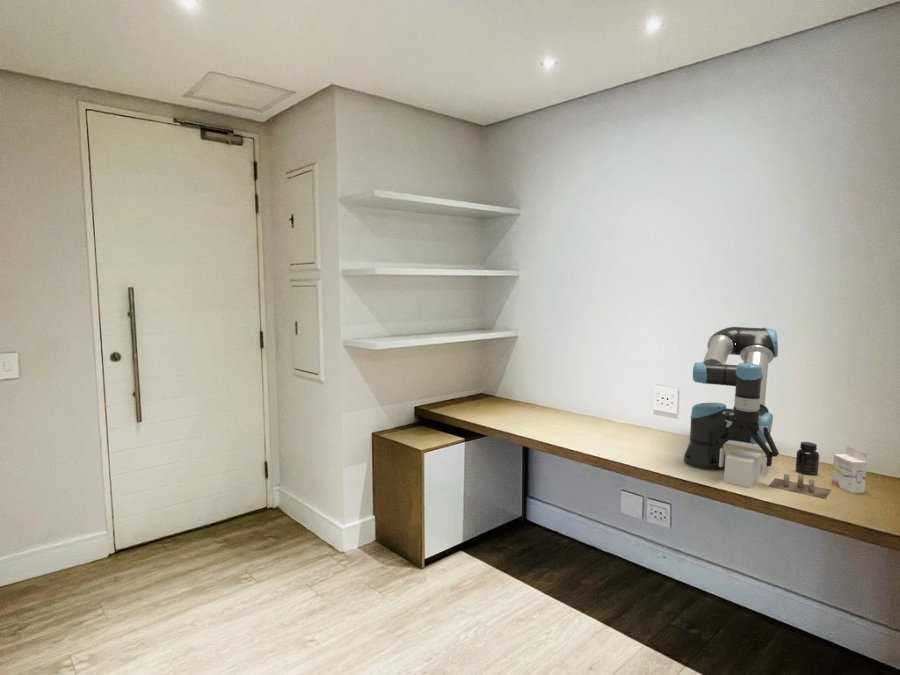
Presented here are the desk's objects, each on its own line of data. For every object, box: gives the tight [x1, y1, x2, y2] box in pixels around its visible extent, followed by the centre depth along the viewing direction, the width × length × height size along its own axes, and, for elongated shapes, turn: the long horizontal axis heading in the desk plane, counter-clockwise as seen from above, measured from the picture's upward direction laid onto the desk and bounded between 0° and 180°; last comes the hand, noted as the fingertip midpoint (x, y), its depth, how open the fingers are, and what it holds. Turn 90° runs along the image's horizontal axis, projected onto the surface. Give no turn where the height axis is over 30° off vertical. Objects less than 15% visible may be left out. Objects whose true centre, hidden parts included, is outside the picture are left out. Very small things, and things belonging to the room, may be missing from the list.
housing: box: [723, 448, 762, 488], centre depth 188 cm, size 13×8×10 cm, turn 139°
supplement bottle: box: [795, 441, 820, 476], centre depth 196 cm, size 7×7×12 cm
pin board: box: [767, 473, 831, 500], centre depth 181 cm, size 16×11×6 cm
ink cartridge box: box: [831, 445, 868, 494], centre depth 181 cm, size 9×5×15 cm, turn 5°
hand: (742, 470), depth 188 cm, fingers open, 13 cm apart
